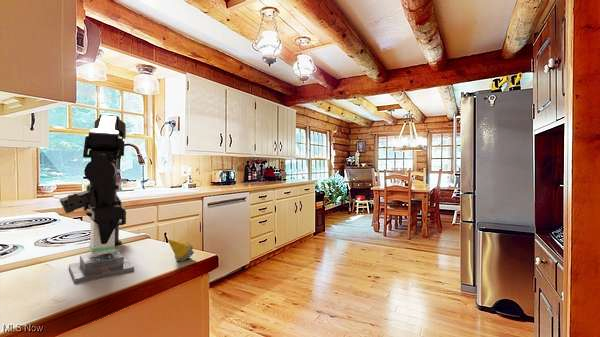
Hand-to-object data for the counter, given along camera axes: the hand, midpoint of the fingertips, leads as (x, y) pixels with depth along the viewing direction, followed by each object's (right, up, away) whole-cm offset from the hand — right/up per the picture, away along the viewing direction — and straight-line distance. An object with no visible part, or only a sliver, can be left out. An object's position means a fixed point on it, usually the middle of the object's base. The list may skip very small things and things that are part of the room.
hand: (102, 241), depth 74 cm
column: (0, -3, 0) cm, 3 cm away
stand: (0, -7, 0) cm, 7 cm away
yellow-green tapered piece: (+17, -8, +8) cm, 20 cm away
